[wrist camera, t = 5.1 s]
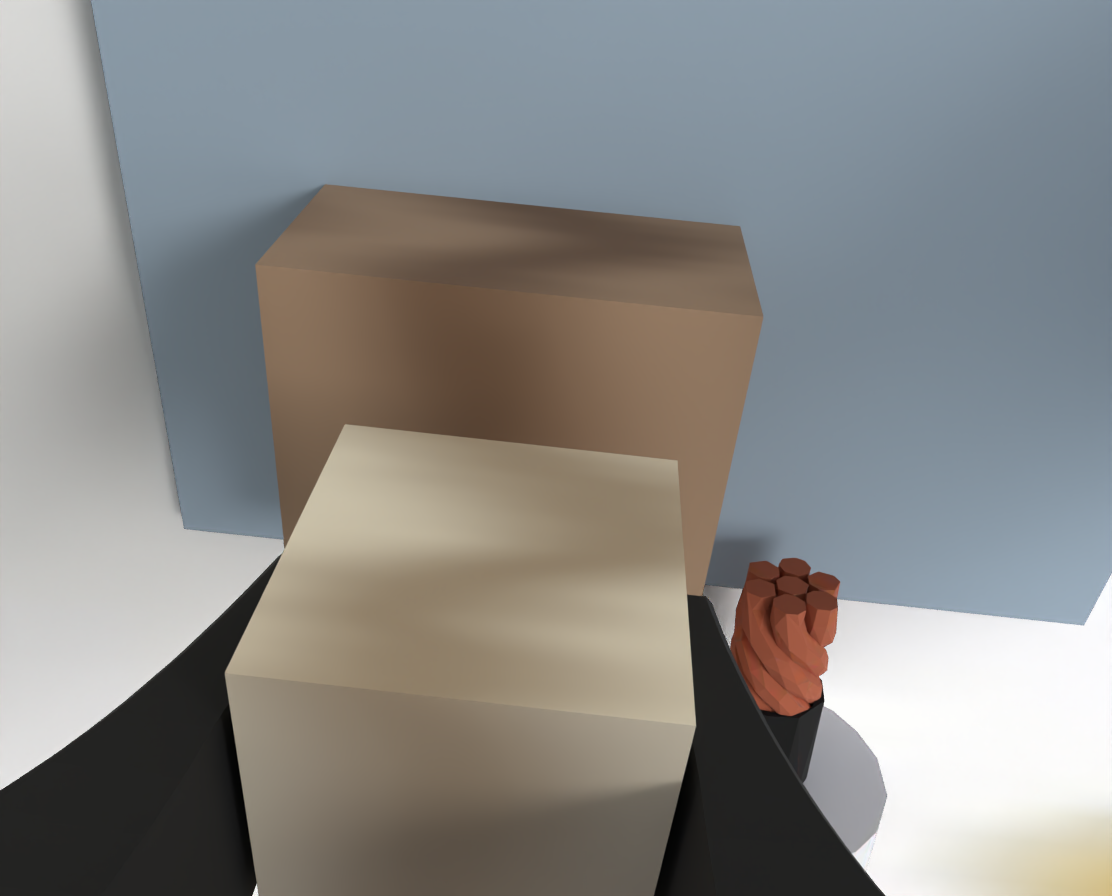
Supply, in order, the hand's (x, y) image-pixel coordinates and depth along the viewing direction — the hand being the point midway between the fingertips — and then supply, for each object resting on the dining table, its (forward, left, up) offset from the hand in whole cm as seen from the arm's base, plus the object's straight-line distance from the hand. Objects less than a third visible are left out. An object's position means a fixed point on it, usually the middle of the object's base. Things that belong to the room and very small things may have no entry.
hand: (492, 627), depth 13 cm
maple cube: (0, 0, -1) cm, 1 cm away
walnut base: (0, +1, -8) cm, 8 cm away
